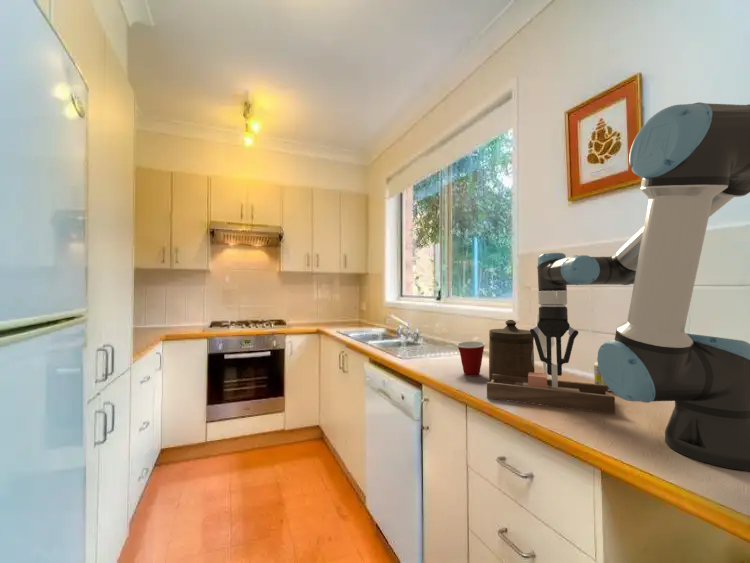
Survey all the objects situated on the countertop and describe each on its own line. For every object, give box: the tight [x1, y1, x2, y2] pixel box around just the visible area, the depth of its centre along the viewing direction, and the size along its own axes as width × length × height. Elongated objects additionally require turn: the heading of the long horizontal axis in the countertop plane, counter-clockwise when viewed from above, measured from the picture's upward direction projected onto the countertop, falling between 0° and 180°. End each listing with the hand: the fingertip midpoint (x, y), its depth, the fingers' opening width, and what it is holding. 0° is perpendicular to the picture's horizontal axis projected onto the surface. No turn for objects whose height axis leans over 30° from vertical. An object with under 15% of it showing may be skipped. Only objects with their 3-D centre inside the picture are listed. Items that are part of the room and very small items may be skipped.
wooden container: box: [488, 319, 535, 382], centre depth 121 cm, size 15×15×22 cm
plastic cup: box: [456, 340, 486, 377], centre depth 133 cm, size 11×11×12 cm
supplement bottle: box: [593, 359, 612, 392], centre depth 112 cm, size 6×6×10 cm
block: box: [528, 372, 548, 388], centre depth 103 cm, size 5×5×4 cm
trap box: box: [486, 374, 616, 415], centre depth 102 cm, size 12×32×4 cm, turn 63°
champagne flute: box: [533, 312, 556, 380], centre depth 126 cm, size 7×7×24 cm
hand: (554, 386), depth 100 cm, fingers closed
